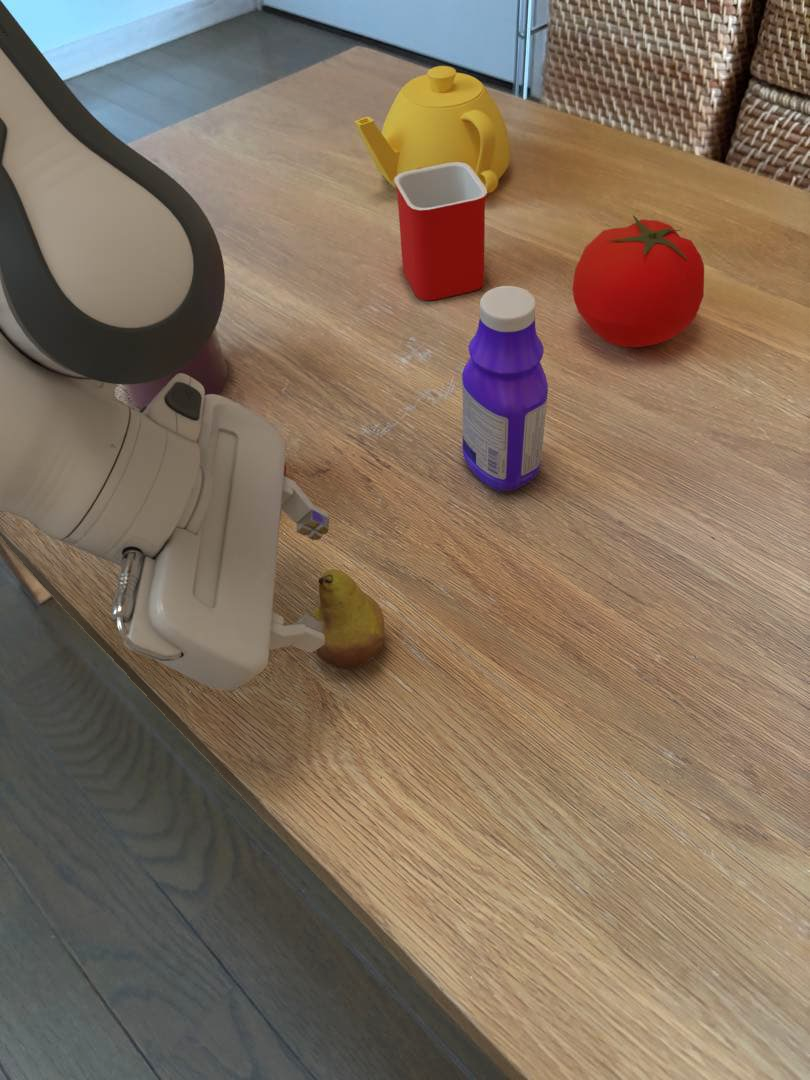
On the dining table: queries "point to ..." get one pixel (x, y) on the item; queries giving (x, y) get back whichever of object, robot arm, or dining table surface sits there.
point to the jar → (202, 368)
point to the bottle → (504, 391)
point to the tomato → (639, 284)
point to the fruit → (348, 621)
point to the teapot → (440, 128)
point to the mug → (442, 229)
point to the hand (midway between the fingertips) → (322, 580)
